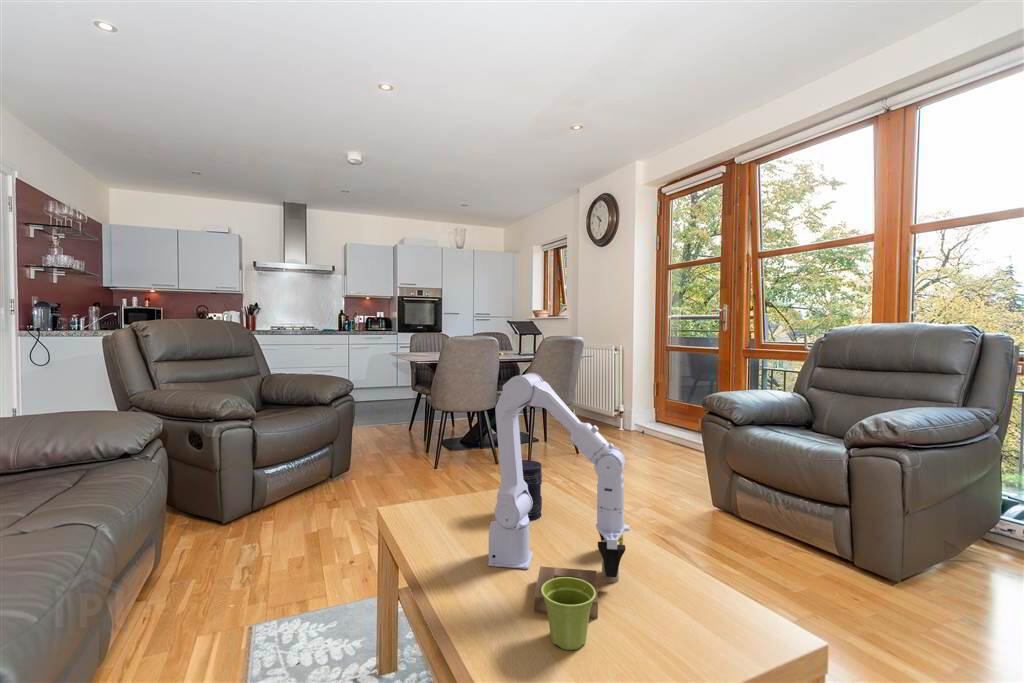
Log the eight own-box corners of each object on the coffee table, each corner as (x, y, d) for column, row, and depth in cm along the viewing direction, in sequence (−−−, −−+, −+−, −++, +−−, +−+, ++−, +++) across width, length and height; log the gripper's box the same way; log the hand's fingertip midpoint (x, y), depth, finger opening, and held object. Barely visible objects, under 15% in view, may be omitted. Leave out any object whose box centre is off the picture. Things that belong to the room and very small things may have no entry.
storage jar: (505, 520, 135) (505, 468, 135) (510, 508, 145) (510, 459, 145) (540, 522, 134) (540, 470, 134) (543, 509, 144) (543, 460, 143)
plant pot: (537, 624, 87) (537, 577, 87) (588, 621, 88) (588, 575, 88) (545, 659, 78) (545, 606, 78) (601, 655, 78) (602, 604, 78)
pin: (602, 582, 102) (602, 545, 102) (601, 573, 105) (601, 538, 105) (619, 583, 101) (619, 546, 101) (618, 575, 105) (618, 539, 105)
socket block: (534, 612, 91) (534, 596, 91) (540, 580, 103) (540, 566, 102) (597, 618, 89) (597, 602, 89) (596, 584, 101) (596, 570, 101)
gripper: (632, 519, 95) (632, 586, 95) (626, 495, 109) (626, 553, 110) (596, 517, 96) (596, 583, 96) (595, 493, 111) (595, 551, 111)
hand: (610, 567), depth 103 cm, fingers open, 7 cm apart
